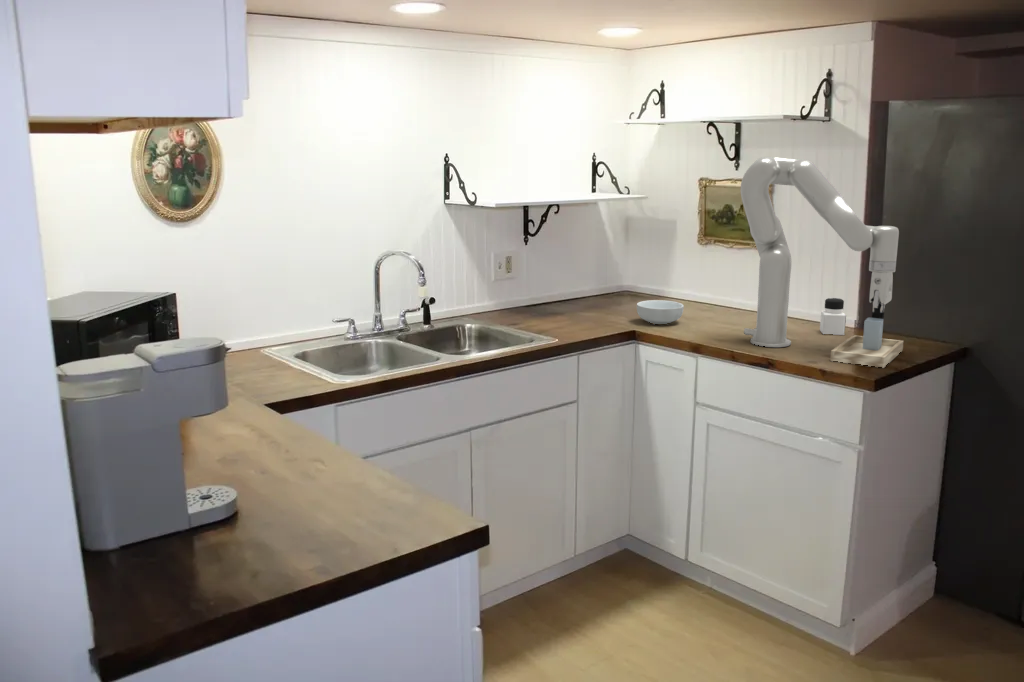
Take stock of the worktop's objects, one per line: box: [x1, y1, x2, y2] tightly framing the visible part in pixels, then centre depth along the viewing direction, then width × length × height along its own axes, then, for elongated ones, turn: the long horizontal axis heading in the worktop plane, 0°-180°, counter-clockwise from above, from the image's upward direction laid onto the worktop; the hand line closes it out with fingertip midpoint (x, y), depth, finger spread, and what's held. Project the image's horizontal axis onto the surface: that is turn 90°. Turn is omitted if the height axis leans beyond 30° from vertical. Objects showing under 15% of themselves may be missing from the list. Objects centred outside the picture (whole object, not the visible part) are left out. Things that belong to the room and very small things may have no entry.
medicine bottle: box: [819, 297, 847, 336], centre depth 288 cm, size 7×7×12 cm
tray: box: [829, 334, 904, 369], centre depth 256 cm, size 15×26×3 cm, turn 145°
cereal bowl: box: [636, 299, 684, 325], centre depth 307 cm, size 17×17×7 cm
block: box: [862, 317, 884, 350], centre depth 260 cm, size 4×4×9 cm
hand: (877, 324), depth 263 cm, fingers closed
